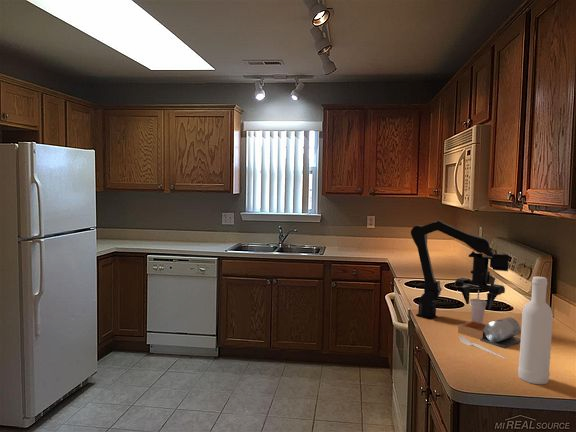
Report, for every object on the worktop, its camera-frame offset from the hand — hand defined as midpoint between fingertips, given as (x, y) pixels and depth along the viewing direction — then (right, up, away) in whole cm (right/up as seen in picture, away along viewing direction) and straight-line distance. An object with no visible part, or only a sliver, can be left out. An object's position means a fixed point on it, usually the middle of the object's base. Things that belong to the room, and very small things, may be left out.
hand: (477, 306), depth 186 cm
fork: (-11, -10, -29) cm, 32 cm away
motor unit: (-3, -8, -16) cm, 18 cm away
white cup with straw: (0, -7, 0) cm, 8 cm away
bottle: (-6, -11, -53) cm, 54 cm away
